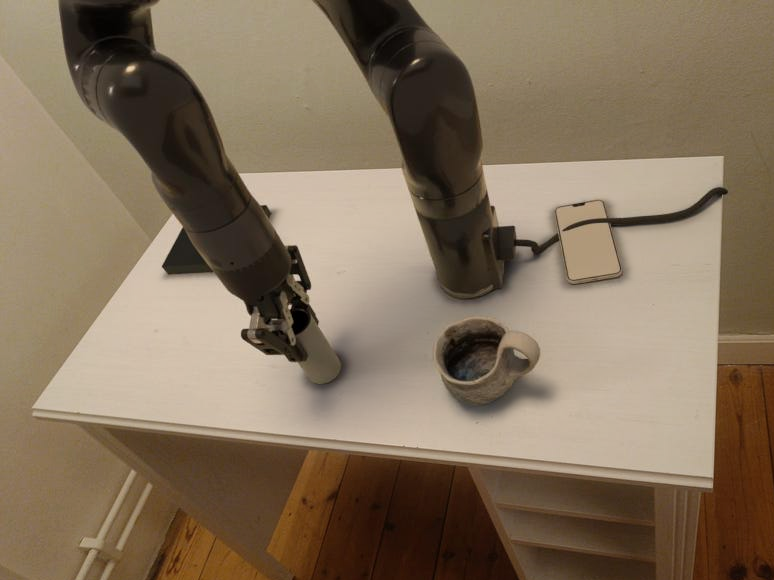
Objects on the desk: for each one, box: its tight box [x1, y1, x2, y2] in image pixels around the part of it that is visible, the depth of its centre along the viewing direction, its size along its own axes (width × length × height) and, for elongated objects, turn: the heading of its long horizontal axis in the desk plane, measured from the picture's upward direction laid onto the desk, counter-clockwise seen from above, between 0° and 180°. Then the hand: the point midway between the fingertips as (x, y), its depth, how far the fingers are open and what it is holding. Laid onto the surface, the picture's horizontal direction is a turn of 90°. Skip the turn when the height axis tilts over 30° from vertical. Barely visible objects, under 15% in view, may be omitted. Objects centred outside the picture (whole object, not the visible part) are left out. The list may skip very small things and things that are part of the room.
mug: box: [432, 315, 541, 406], centre depth 71 cm, size 10×12×10 cm
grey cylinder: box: [277, 308, 342, 385], centre depth 77 cm, size 4×4×10 cm
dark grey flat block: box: [161, 204, 272, 275], centre depth 99 cm, size 14×13×4 cm
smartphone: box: [553, 199, 623, 285], centre depth 85 cm, size 7×1×15 cm
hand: (305, 341), depth 76 cm, fingers closed on grey cylinder, 4 cm apart
